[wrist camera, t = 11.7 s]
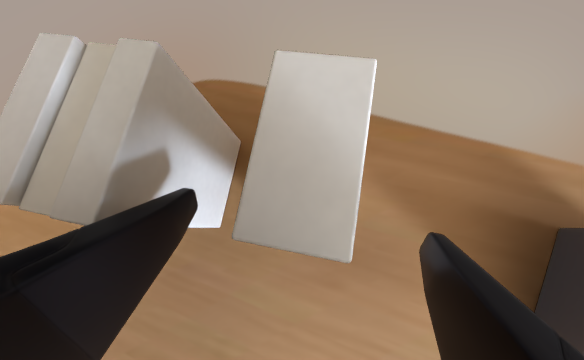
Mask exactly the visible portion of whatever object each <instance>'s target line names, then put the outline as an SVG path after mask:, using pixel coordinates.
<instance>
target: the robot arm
mask: <svg viewBox="0 0 584 360" xmlns="http://www.w3.org/2000/svg"><path fill="white" fill-rule="evenodd" d="M197 209H198V203H197V198H196V193H195V191H194V190H193V189H190V188H181V189H179V190H176V191H174V192H171V193H168V194H166V195H163V196H161V197H158V198H156V199H153V200H150V201H148V202H145V203H143V204H140V205H138V206H135V207H133V208H130V209H127V210H125V211H122V212H120V213H117V214H115V215H112V216H109V217H107V218H104V219H102V220H99V221H97V222H94V223H92V224H89V225H86V226H84V227H81V228H80V229H76V230H73V231H71V232H68V233H66V234H63V235H61V236H58V237H55V238H53V239H50V240H47V241H45V242H42V243H39V244H36V245H33V246H31V247H28V248H25V249H22V250H19V251H16V252H13V253H10V254H8V255H5V256H2V257H0V360H101V358H102V357H103V355H104V354H105V352H106V351H107V350H108V348H109V347H110V345H111V344H112V342H113V341H114V339H115V338H116V336H117V335H118V333H119V332H120V330H121V329H122V327H123V326H124V324H125V323H126V321H127V320H128V318H129V317H130V315H131V314H132V313H133V311H134V310H135V308H136V307H137V305H138V304H139V302H140V301H141V299H142V298H143V296H144V295H145V293H146V292H147V290H148V289H149V287H150V286H151V284H152V283H153V281H154V280H155V278H156V277H157V276H158V274H159V273H160V271H161V270H162V268H163V267H164V265H165V264H166V262H167V261H168V259H169V258H170V256H171V255H172V253H173V252H174V250H175V249H176V247H177V246H178V244H179V243H180V241H181V239H182V238H183V236H184V234H185V232H186V230H187V228H188V226H189V225H190V223H191V221H192V219H193V217H194V215H195V213H196V211H197ZM419 254H420V262H421V269H422V277H423V284H424V291H425V297H426V301H427V305H428V309H429V313H430V317H431V321H432V325H433V329H434V333H435V337H436V341H437V345H438V349H439V353H440V357H441V360H584V355H583V354H581V353H580V352H579V351H578V350H577V349H576V348H574V347H573V346H572V345H571V344H570V343H569V342H568V341H566V340H565V339H564V338H563V337H561V336H559V334H558V333H557V332H556V331H555V330H554V329H552V328H551V327H550V326H549V325H548V324H547V323H545V322H544V321H543V320H542V319H541V318H540V317H538V316H537V315H536V314H535V313H534V312H533V311H531V310H530V309H529V308H528V307H527V306H526V305H525V304H523V303H522V302H521V301H520V300H519V299H518V298H516V297H515V296H514V295H513V294H512V293H511V292H509V291H508V290H507V289H506V288H505V287H504V286H502V285H501V284H500V283H499V282H498V281H497V280H495V279H494V278H493V277H492V276H491V275H490V274H489V273H487V272H486V271H485V270H484V269H483V268H482V267H480V266H479V265H478V264H477V263H476V262H475V261H473V260H472V259H471V258H470V257H469V256H468V255H466V254H465V253H464V252H463V251H462V250H461V249H459V248H458V247H457V246H456V245H455V244H454V243H453V242H451V241H450V240H449V239H448V238H447V237H446V236H444V235H443V234H439V233H433V232H430V233H429V234H428V235H427V236H426V238H425V240H424V242H423V243H422V245H421V247H420V251H419Z"/></svg>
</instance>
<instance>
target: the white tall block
mask: <svg viewBox="0 0 584 360" xmlns="http://www.w3.org/2000/svg"><path fill="white" fill-rule="evenodd" d="M376 66H377V60H376V59H375V58H365V57H354V56H342V55H331V54H319V53H308V52H297V51H284V50H276V51H275V53H274V57H273V61H272V65H271V70H270V74H269V78H268V82H267V87H266V91H265V95H264V100H263V104H262V108H261V113H260V117H259V121H258V125H257V130H256V134H255V138H254V143H253V147H252V151H251V156H250V160H249V164H248V168H247V173H246V177H245V181H244V186H243V190H242V194H241V199H240V203H239V207H238V211H237V216H236V220H235V224H234V229H233V233H232V239H234V240H237V241H241V242H246V243H251V244H256V245H261V246H266V247H271V248H275V249H280V250H285V251H290V252H295V253H300V254H304V255H309V256H314V257H319V258H324V259H329V260H333V261H338V262H343V263H350V262H351V260H352V254H353V246H354V239H355V231H356V223H357V215H358V207H359V199H360V192H361V184H362V176H363V168H364V160H365V152H366V145H367V137H368V129H369V121H370V113H371V105H372V98H373V90H374V81H375V74H376Z"/></svg>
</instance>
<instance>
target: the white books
mask: <svg viewBox="0 0 584 360" xmlns="http://www.w3.org/2000/svg"><path fill="white" fill-rule="evenodd" d="M240 144H241V141H240V140H239V138H238V137H237V136H236V135H235V134H234V132H233V131H232V130H231V129H230V128H229V126H228V125H227V124H226V123H225V122H224V121H223V119H222V118H221V117H220V116H219V115H218V113H217V112H216V111H215V110H214V109H213V107H212V106H211V105H210V104H209V103H208V101H207V100H206V99H205V98H204V97H203V95H202V94H201V93H200V92H199V91H198V89H197V88H196V87H195V86H194V85H193V83H192V82H191V81H190V80H189V79H188V77H187V76H186V75H185V74H184V73H183V71H182V70H181V69H180V68H179V67H178V65H177V64H176V63H175V62H174V61H173V59H172V58H171V57H170V56H169V55H168V53H166V51H165V50H164V49H163V47H162V46H161V45H160V44H159V43H158V42H156V41H147V40H136V39H124V38H120V39H119V40H118V43H117V45H114V44H103V43H91V42H89V43H88V45H86V44H84V43H83V42H82V41H81V40H79V39H78V38H77V37H76V36H70V35H59V34H49V33H40V34H39V36H38V38H37V40H36V42H35V44H34V47H33V49H32V51H31V53H30V55H29V57H28V59H27V61H26V63H25V65H24V68H23V70H22V72H21V74H20V76H19V78H18V80H17V82H16V84H15V87H14V88H13V91H12V93H11V95H10V97H9V99H8V101H7V103H6V105H5V107H4V109H3V112H2V114H1V116H0V204H1V205H14V206H19V209H20V210H25V211H29V212H34V213H39V214H43V215H48V216H50V218H52V219H56V220H61V221H66V222H70V223H75V224H79V225H84V226H86V225H89V224H92V223H94V222H97V221H99V220H102V219H104V218H107V217H109V216H112V215H115V214H117V213H120V212H122V211H125V210H127V209H130V208H133V207H135V206H138V205H140V204H143V203H145V202H148V201H150V200H153V199H156V198H158V197H161V196H163V195H166V194H168V193H171V192H174V191H176V190H179V189H181V188H190V189H193V190H194V191H195V193H196V198H197V203H198V209H197V211H196V213H195V215H194V217H193V219H192V221H191V223H190V225H189V226H188V228H220V226H221V222H222V218H223V214H224V209H225V205H226V201H227V197H228V193H229V189H230V185H231V181H232V177H233V173H234V168H235V164H236V160H237V156H238V152H239V148H240Z"/></svg>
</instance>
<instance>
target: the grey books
mask: <svg viewBox="0 0 584 360" xmlns="http://www.w3.org/2000/svg"><path fill="white" fill-rule="evenodd" d="M535 314H536V315H537V316H538V317H540V318H541V319H542V320H543V321H544V322H545V323H547V324H548V325H549V326H550V327H551V328H552V329H554V330H555V331H556V332H557V333H558V334H559V336H561V337H563V338H564V339H565V340H566V341H568V342H569V343H570V344H571V345H572V346H573V347H574V348H576V349H577V350H578V351H579V352H580V353H581V354H583V355H584V228H560V229H559V231H558V235H557V238H556V242H555V245H554V248H553V252H552V255H551V259H550V262H549V266H548V269H547V272H546V276H545V279H544V283H543V286H542V289H541V293H540V296H539V300H538V303H537V307H536V310H535Z"/></svg>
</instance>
